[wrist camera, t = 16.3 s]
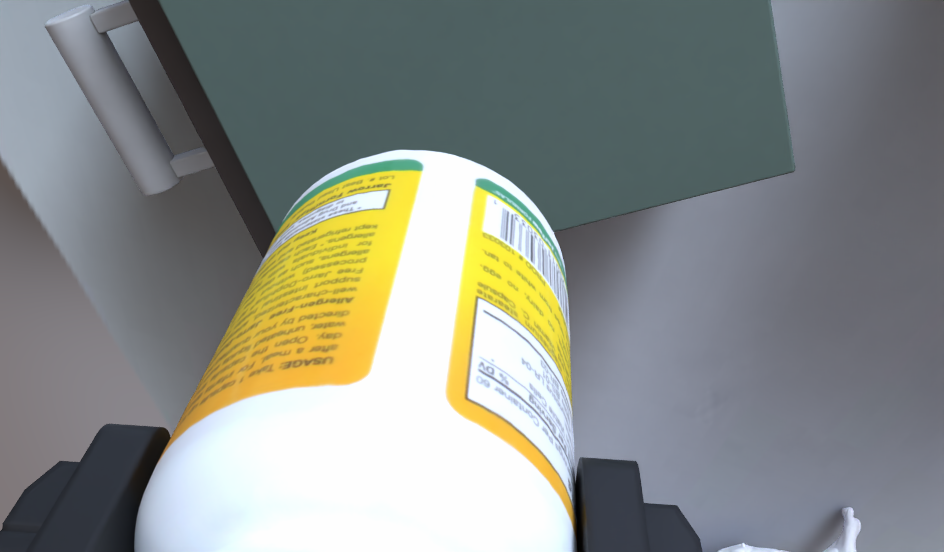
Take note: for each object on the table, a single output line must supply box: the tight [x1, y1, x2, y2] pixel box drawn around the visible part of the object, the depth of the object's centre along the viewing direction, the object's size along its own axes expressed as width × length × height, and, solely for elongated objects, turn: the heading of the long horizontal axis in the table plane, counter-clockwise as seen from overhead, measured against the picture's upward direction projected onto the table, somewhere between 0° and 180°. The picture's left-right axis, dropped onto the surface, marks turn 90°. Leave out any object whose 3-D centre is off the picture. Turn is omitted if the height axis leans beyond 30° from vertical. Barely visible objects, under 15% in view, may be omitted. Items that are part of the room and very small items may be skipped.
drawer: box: [45, 0, 276, 259], centre depth 27 cm, size 18×11×8 cm, turn 108°
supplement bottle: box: [134, 150, 578, 552], centre depth 12 cm, size 5×5×10 cm
